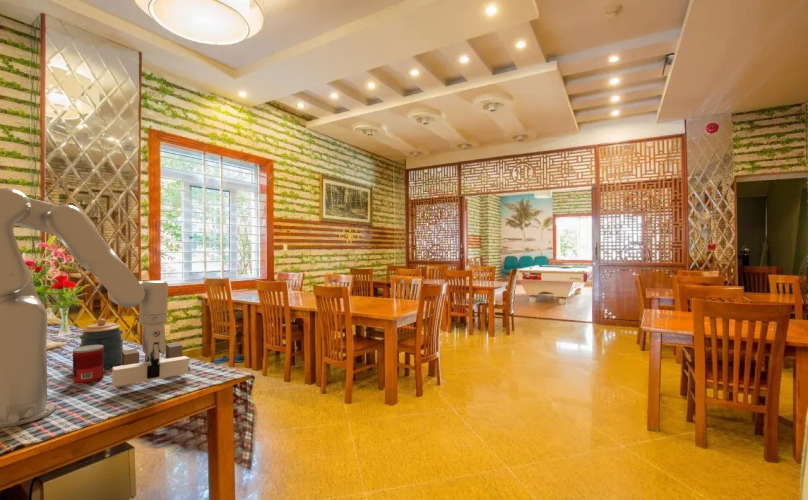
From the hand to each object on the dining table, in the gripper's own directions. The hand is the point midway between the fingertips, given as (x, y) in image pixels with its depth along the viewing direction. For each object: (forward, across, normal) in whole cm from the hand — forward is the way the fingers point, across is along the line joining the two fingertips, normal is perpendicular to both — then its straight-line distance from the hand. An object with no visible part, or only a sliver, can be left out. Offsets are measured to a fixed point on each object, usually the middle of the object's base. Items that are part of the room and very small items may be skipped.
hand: (151, 375), depth 120 cm
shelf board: (+1, 0, 0) cm, 1 cm away
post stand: (+3, +14, -3) cm, 15 cm away
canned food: (+4, +21, +14) cm, 26 cm away
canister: (+4, +38, +9) cm, 39 cm away
